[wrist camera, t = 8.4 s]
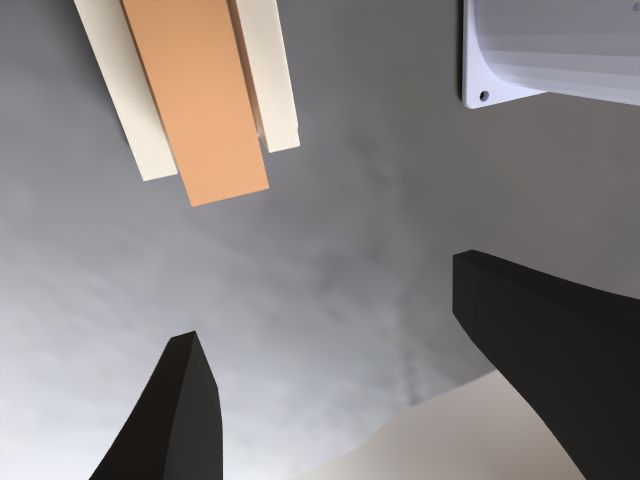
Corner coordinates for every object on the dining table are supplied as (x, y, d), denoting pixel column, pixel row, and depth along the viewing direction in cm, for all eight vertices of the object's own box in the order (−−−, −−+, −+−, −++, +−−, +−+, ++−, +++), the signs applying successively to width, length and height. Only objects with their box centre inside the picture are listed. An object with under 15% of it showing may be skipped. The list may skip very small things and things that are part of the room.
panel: (169, -176, 13) (142, -367, 7) (245, 136, 18) (269, 188, 12) (96, -169, 12) (0, -364, 6) (194, 147, 17) (192, 206, 11)
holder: (242, -167, 14) (255, -230, 11) (294, 124, 19) (315, 142, 15) (24, -146, 13) (-36, -210, 10) (140, 157, 18) (126, 185, 14)
